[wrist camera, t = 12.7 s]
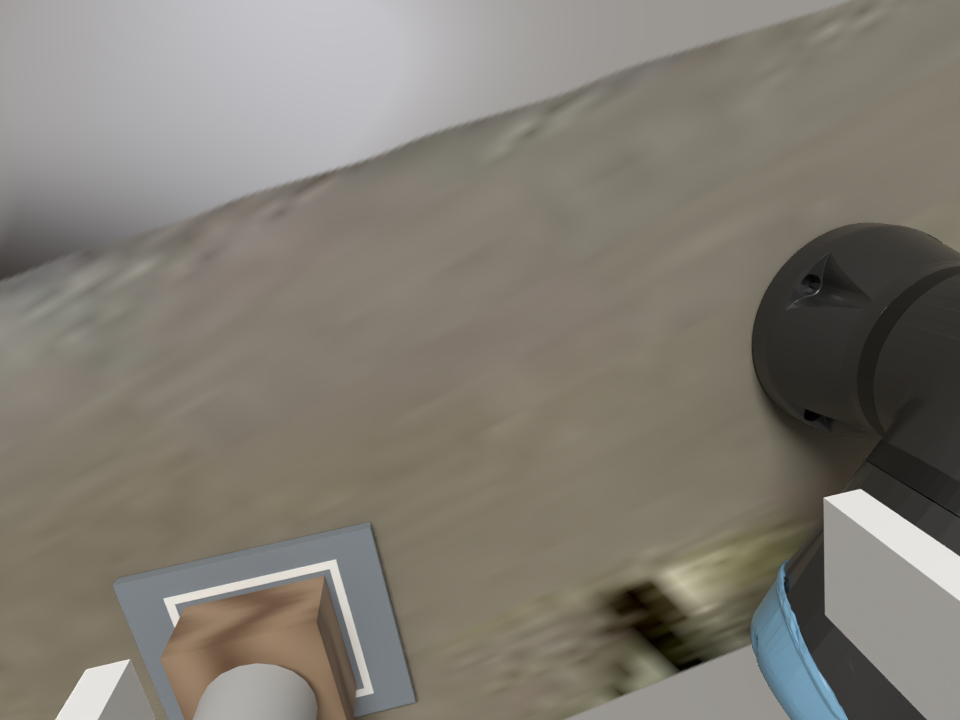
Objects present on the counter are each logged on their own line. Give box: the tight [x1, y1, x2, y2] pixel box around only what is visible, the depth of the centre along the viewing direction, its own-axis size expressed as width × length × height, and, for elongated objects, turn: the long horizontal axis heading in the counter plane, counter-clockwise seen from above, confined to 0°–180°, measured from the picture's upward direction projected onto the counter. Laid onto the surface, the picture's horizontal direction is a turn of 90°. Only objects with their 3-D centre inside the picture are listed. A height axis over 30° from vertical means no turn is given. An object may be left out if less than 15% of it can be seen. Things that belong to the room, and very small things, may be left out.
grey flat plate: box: [113, 522, 416, 720], centre depth 47 cm, size 18×16×1 cm
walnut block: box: [160, 576, 357, 720], centre depth 45 cm, size 10×10×5 cm
